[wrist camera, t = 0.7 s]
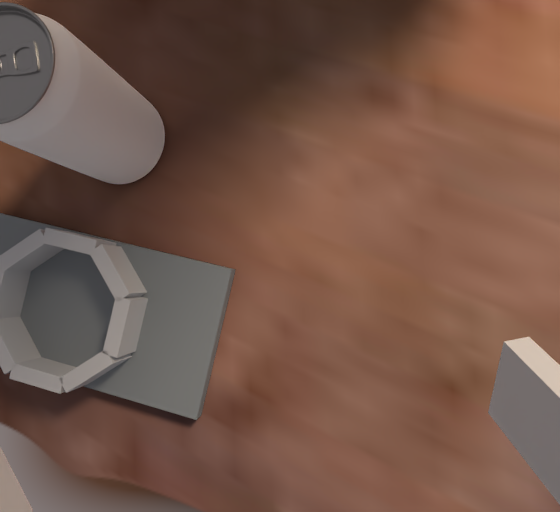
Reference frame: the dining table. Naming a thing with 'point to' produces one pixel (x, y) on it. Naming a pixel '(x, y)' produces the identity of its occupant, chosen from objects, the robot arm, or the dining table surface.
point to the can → (71, 102)
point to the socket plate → (108, 316)
